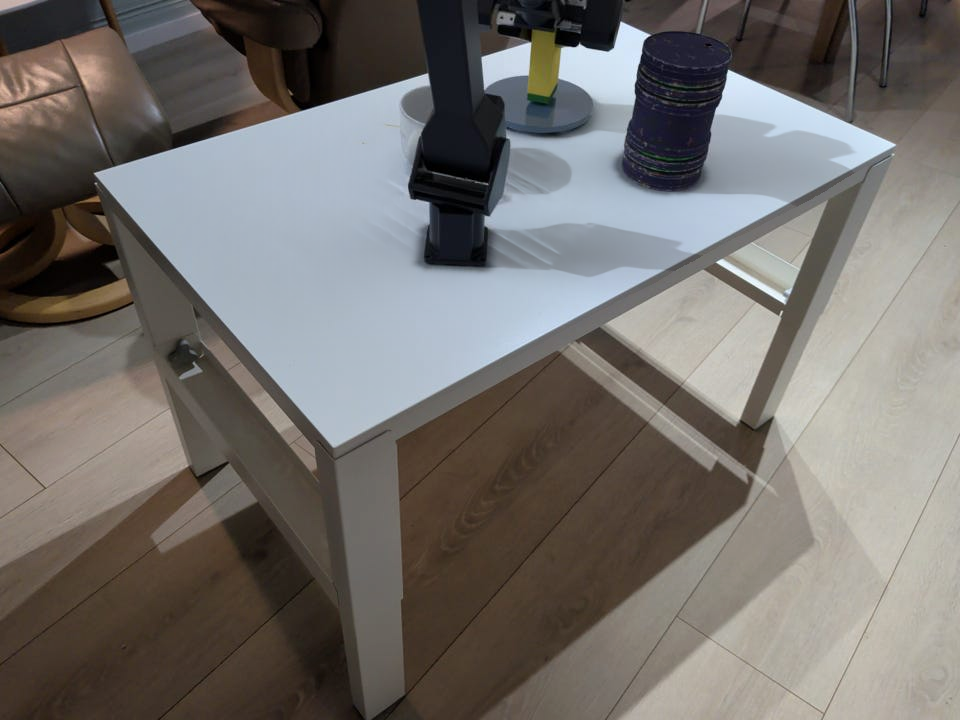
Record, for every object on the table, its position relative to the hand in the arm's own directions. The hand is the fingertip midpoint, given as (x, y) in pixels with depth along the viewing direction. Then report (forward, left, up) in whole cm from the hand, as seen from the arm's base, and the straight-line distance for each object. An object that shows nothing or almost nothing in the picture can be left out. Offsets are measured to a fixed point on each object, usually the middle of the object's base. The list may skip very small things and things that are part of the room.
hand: (549, 42), depth 103 cm
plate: (-1, +1, -9) cm, 9 cm away
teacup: (-18, +13, -9) cm, 24 cm away
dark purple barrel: (-15, -14, -9) cm, 23 cm away
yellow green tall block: (-1, 0, -7) cm, 7 cm away
